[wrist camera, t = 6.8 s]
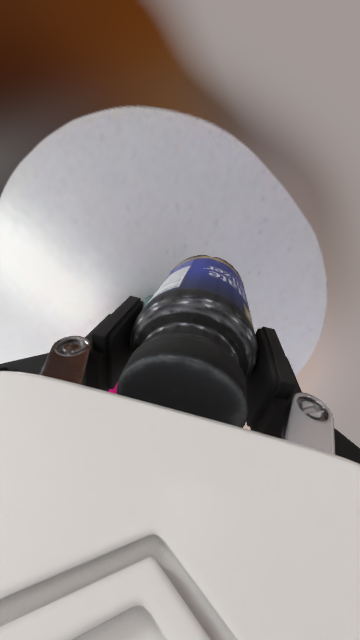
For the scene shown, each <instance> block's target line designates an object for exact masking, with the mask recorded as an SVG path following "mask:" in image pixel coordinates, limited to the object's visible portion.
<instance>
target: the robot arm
mask: <svg viewBox="0 0 360 640" xmlns="http://www.w3.org/2000/svg"><path fill="white" fill-rule="evenodd" d="M143 308H144V302H143V301H141V298H137V297H133V296H130V297H129V298H128V299H127V300H126V301H125V302H123V303H122V304H121V305H120V306H119V307H118V308H117V309H116V310H115V311H114V312H113V313H112V314H109V315H108V316H107V317H106V318H105V319H104V320H103V321H102V322H101V323H100V324H98V325H97V326H96V327H95V328H94V329H93V330H92V331H91V332H90V333H89V334H88V335H87V336H86V337H85V338H84V337H81V336H69V337H65V338H62V339H60V340H58V341H57V342H55V343H54V345H53V346H52V348H51V350H50V352H49V353H47V354H42V355H38V356H34V357H29V358H25V359H20V360H16V361H11V362H7V363H3V364H0V640H360V448H359V447H357V446H356V445H355V444H354V443H352V442H351V441H350V440H348V439H347V438H346V437H345V436H344V435H342V434H341V433H340V432H339V431H337V430H336V429H335V428H334V418H333V414H332V413H331V411H330V409H329V408H328V407H327V406H326V405H325V404H324V403H323V402H322V401H321V400H319V399H318V398H316V397H314V396H312V395H310V394H307V393H302V392H301V389H300V387H299V384H298V382H297V380H296V377H295V375H294V373H293V370H292V368H291V365H290V363H289V361H288V359H287V357H286V356H285V353H284V351H283V349H282V346H281V344H280V341H279V339H278V337H277V334H276V332H275V330H274V329H271V328H267V327H262V328H261V329H258V330H257V332H256V334H255V336H256V340H257V347H258V352H257V355H258V357H257V360H256V365H255V367H254V369H253V372H252V374H251V375H250V377H249V379H248V380H247V381H246V385H247V399H248V417H247V420H246V422H247V425H248V426H250V428H251V430H248V429H244V428H241V427H237V426H233V425H230V424H226V423H223V422H219V421H215V420H212V419H208V418H204V417H200V416H197V415H193V414H189V413H186V412H182V411H178V410H175V409H171V408H167V407H163V406H160V405H156V404H152V403H148V402H145V401H141V400H137V399H133V398H130V397H126V396H122V395H118V394H114V393H111V392H108V391H109V390H110V389H112V390H113V389H114V388H115V386H116V384H117V383H118V380H119V377H120V375H121V373H122V371H123V370H124V368H125V366H126V364H127V362H128V360H129V358H130V356H131V350H130V333H131V331H132V327H133V325H134V322H135V320H136V318H137V317H138V315H139V314H140V313H141V311H142V310H143Z"/></svg>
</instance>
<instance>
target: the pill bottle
mask: <svg viewBox="0 0 360 640" xmlns="http://www.w3.org/2000/svg"><path fill="white" fill-rule="evenodd" d="M130 350H131V356H130V358H129V360H128V362H127V364H126V366H125V368H124V370H123V371H122V373H121V375H120V377H119V380H118V384H117V394H118V395H122V396H126V397H130V398H133V399H137V400H141V401H145V402H148V403H152V404H156V405H160V406H163V407H167V408H171V409H175V410H178V411H182V412H186V413H189V414H193V415H197V416H200V417H204V418H208V419H212V420H215V421H219V422H223V423H226V424H230V425H233V426H237V427H241V428H243V426H244V425H245V423H246V420H247V417H248V399H247V385H246V381H247V380H248V379H249V377H250V375H251V374H252V372H253V369H254V367H255V365H256V360H257V357H258V355H257V352H258V347H257V340H256V336H255V332H254V328H253V324H252V320H251V316H250V311H249V307H248V302H247V299H246V294H245V290H244V286H243V282H242V280H241V277H240V275H239V274H238V272H237V271H236V270H235V269H234V267H233V266H232V265H230V264H229V263H228V262H227V261H225V260H223V259H221V258H217V257H210V256H207V255H198V256H193V257H190V258H188V259H186V260H184V261H182V262H181V263H180V264H178V265H177V266H176V267H175V268H174V269H173V270H172V271H171V273H170V274H169V276H168V277H167V278H166V280H165V281H164V282H163V284H162V285H161V286H160V288H159V289H158V290H157V292H156V293H155V294H154V296H153V297H152V298H151V299H150V301H149V302H148V303H147V305H146V306H145V307H144V308H143V310H142V311H141V313H140V314H139V315H138V317H137V318H136V320H135V322H134V325H133V327H132V331H131V333H130Z"/></svg>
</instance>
